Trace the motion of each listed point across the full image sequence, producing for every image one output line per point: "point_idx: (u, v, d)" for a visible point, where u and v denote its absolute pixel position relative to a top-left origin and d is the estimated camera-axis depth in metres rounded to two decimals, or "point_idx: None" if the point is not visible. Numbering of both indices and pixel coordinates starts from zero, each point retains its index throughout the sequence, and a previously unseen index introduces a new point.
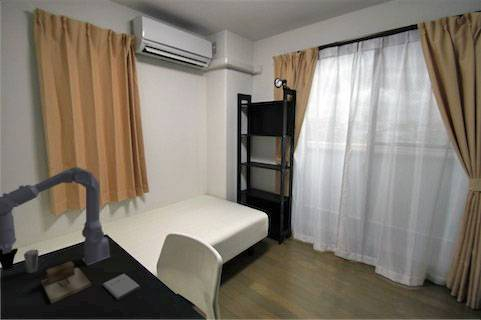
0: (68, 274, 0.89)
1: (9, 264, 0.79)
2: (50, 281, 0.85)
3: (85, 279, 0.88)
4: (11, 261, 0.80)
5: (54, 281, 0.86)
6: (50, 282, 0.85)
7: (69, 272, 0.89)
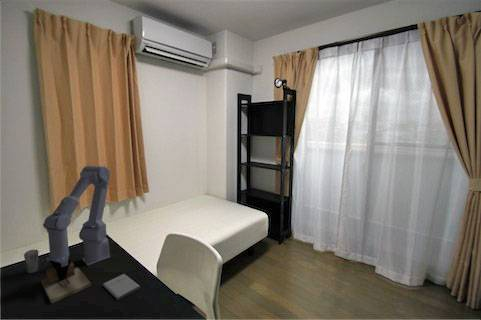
0: (68, 274, 0.89)
1: (64, 274, 0.87)
2: (50, 281, 0.85)
3: (85, 279, 0.88)
4: (65, 271, 0.88)
5: (54, 281, 0.86)
6: (50, 282, 0.85)
7: (69, 272, 0.89)
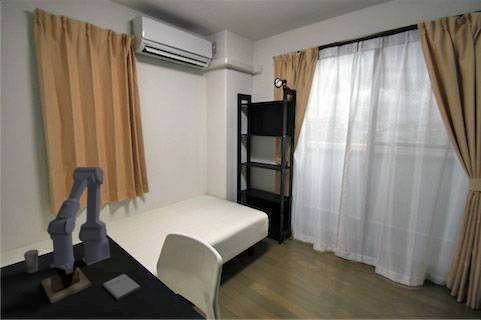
0: (73, 281, 0.85)
1: (69, 281, 0.83)
2: (54, 289, 0.80)
3: (85, 279, 0.88)
4: (70, 278, 0.83)
5: (58, 289, 0.81)
6: (54, 290, 0.81)
7: (74, 279, 0.85)
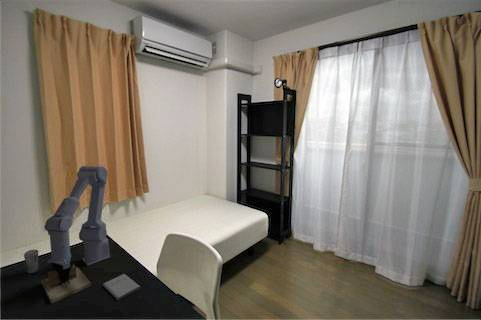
0: (70, 276, 0.88)
1: (66, 276, 0.86)
2: (52, 284, 0.83)
3: (85, 279, 0.88)
4: (67, 274, 0.86)
5: (56, 284, 0.84)
6: (52, 285, 0.83)
7: (71, 274, 0.88)
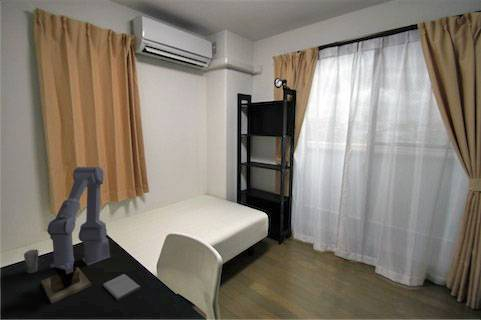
0: (73, 281, 0.85)
1: (69, 281, 0.83)
2: (54, 289, 0.80)
3: (85, 279, 0.88)
4: (70, 278, 0.83)
5: (58, 289, 0.81)
6: (54, 290, 0.81)
7: (74, 279, 0.85)
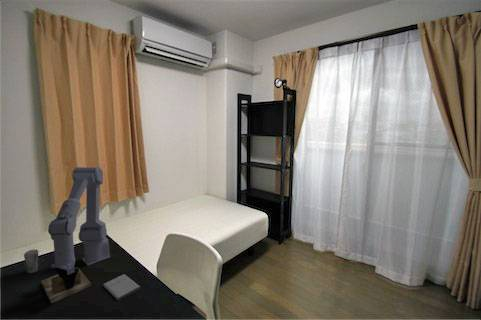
0: (74, 283, 0.84)
1: (71, 283, 0.81)
2: (55, 291, 0.80)
3: (85, 279, 0.88)
4: (73, 280, 0.82)
5: (59, 290, 0.81)
6: (55, 292, 0.80)
7: (75, 280, 0.84)
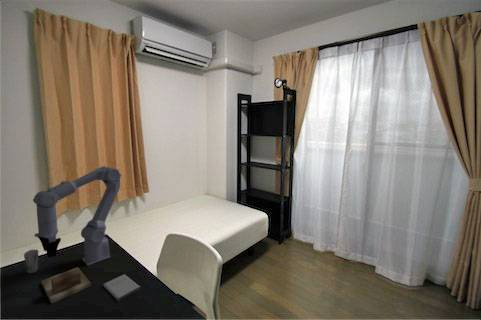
0: (74, 283, 0.84)
1: (53, 252, 0.87)
2: (55, 291, 0.80)
3: (85, 279, 0.88)
4: (55, 249, 0.88)
5: (59, 290, 0.81)
6: (55, 292, 0.80)
7: (75, 280, 0.84)
